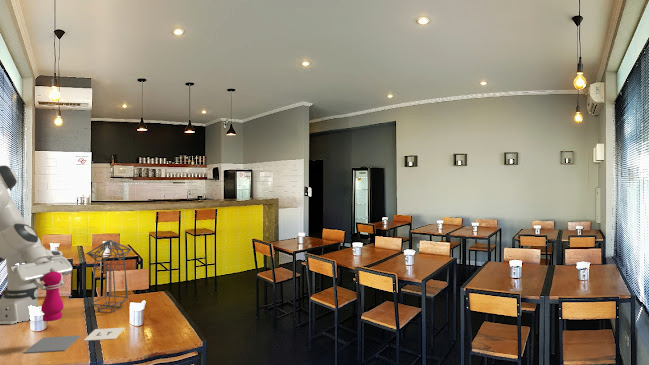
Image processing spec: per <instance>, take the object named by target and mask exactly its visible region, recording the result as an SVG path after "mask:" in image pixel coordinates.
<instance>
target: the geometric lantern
mask: <svg viewBox="0 0 649 365" xmlns="http://www.w3.org/2000/svg"><path fill="white" fill-rule="evenodd" d="M120 246H121V247H123V248H121V247H120ZM107 249H108V250H110V254H104V253H105V251H106V250H107ZM132 250H133V248H132V247H128V246H127V245H123V244H121V243H118V242H116V241H114V240H112V239H110V240H109V239H108V240H107V241H106V240H105V242H103V243H101V244H100V245H98V246H97V247H94V248H93V249H91V250H90V251H88V252H86V255H88V256H89V257H91V259H93V260H94V264H93V282H92V291H91V302H90V303H91V305H93V306H94V307H95V308H97V312H98V313H106V311H102V310H107V309H108V310H110V313H111V314H112V313H115V312H116V311H118V310H120V309H122V308H123V303H124V302H126V301H128V300H129V291H128V280H127V271H126V269H127V267H126V266H127V265H126V261H125V258H126V256H128V254H130V253H131V251H132ZM115 251H116V252H115ZM119 251H120V252H121V253H120V252H119ZM101 252H102V253H101ZM112 256H113V259H112V260H111V261H110V262H109V263H108V261H107V259H108V258H110V257H112ZM104 257H105V258H104ZM98 258H99V260H98ZM115 258H116V259H118V261H117V263H115V266H114V268H113V269H112V264H113V261H114V260H115ZM121 260H123V261H122V262H123V263H121V264H120V263H119V262H120V261H121ZM104 261H105V262H104ZM96 262H97V264H96ZM99 262H102V263H103V264H102V265H101V264H100V265H99V266H98V264H99ZM108 265H109V267H108ZM117 265H121V266H119V267H116V266H117ZM103 266H104V267H105V268H104V269H102V268H100V267H103ZM120 268H124V270H123V271H124V289H125V296H124V295H116V282H115V281H116V280H115V270H118V269H120ZM96 271H105V282H104V296H103V297H101V298H99V299H96V300H95V280H96V279H95V278H96ZM112 278H113V279H112ZM112 280H113V281H112ZM107 281H108V282H107ZM112 282H113V294H112ZM107 283H108V295H107ZM111 297H113V298H114V301H112V302H111ZM106 298H108V301H107V299H106ZM117 298H123V300H121V301H118V302H117ZM102 299H104V300H105V303H103V304H99V303H96V302H99V301H100V300H102ZM115 308H117V309H115Z"/></svg>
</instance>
